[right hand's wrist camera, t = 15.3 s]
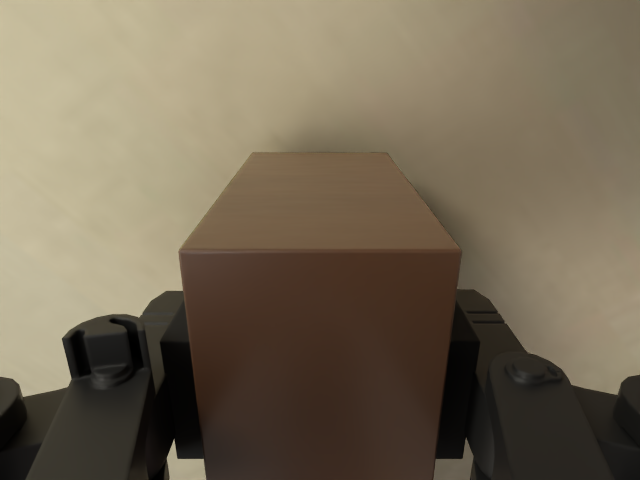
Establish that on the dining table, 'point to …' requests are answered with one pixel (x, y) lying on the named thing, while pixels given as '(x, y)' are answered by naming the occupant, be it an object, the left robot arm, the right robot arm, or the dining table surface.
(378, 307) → the walnut beam
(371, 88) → the dining table surface
